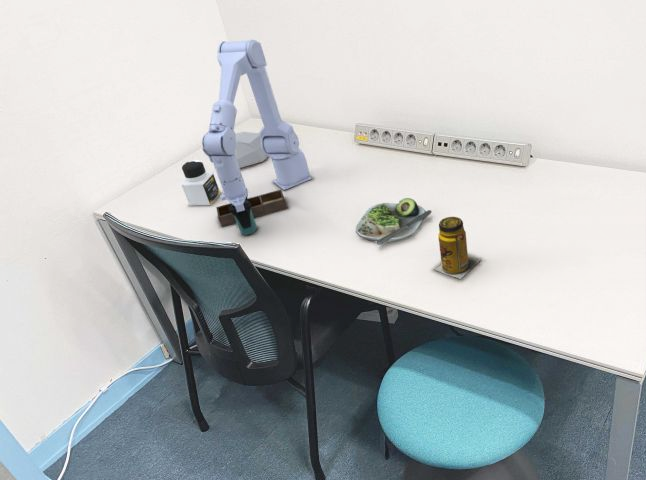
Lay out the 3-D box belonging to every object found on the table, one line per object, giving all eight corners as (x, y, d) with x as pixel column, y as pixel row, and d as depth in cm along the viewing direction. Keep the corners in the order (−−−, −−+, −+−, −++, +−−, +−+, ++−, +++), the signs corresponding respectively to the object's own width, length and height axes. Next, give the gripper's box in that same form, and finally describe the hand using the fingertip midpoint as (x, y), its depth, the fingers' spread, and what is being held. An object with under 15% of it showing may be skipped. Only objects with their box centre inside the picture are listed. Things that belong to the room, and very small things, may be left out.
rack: (283, 198, 176) (281, 189, 174) (287, 208, 171) (284, 199, 169) (219, 216, 173) (216, 207, 171) (221, 226, 168) (218, 217, 166)
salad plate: (410, 253, 145) (408, 237, 142) (344, 246, 151) (340, 230, 148) (436, 211, 158) (434, 195, 156) (374, 206, 165) (371, 191, 162)
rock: (228, 151, 209) (219, 124, 203) (285, 141, 209) (278, 114, 203) (222, 174, 194) (212, 146, 188) (283, 163, 195) (275, 135, 189)
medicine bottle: (210, 205, 179) (196, 168, 171) (189, 206, 180) (174, 169, 173) (220, 193, 184) (207, 157, 177) (199, 194, 186) (185, 158, 178)
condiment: (434, 270, 138) (428, 225, 131) (455, 251, 143) (451, 207, 135) (460, 279, 134) (456, 234, 127) (481, 260, 139) (478, 215, 131)
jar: (253, 223, 166) (244, 197, 161) (259, 229, 163) (251, 203, 158) (237, 230, 164) (228, 204, 159) (243, 236, 161) (234, 210, 156)
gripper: (212, 169, 159) (228, 214, 167) (217, 193, 147) (234, 240, 156) (239, 162, 160) (253, 207, 168) (245, 185, 149) (261, 232, 157)
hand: (246, 222), depth 162 cm, fingers closed on jar, 4 cm apart
